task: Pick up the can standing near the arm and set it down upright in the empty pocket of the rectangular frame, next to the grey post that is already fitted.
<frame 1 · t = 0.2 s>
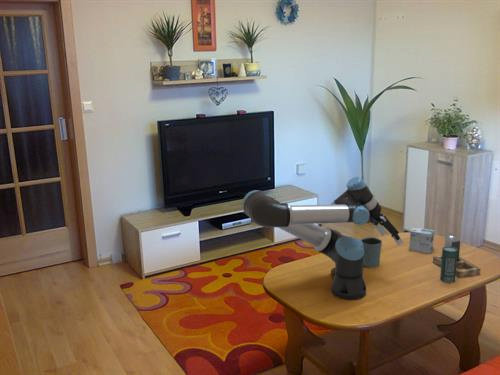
hand: (392, 238, 238), 16 cm above the table, tool tilted 35°, fingers open, 13 cm apart
grey post: (449, 264, 246), resting in rectangular frame
can: (447, 280, 231), on the table
grey cup: (370, 264, 250), on the table
rectangular frame: (455, 268, 242), on the table
light bulb box: (421, 250, 265), on the table
cup and saucer: (343, 275, 239), on the table
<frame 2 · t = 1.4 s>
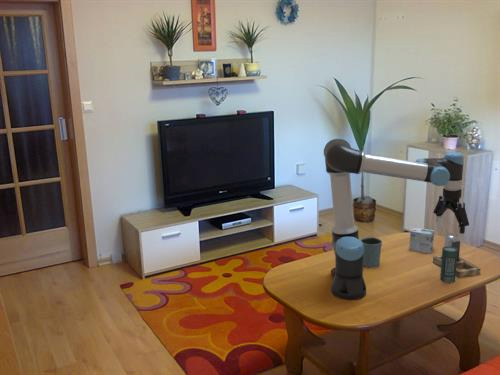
hand: (449, 234, 226), 21 cm above the table, tool pointing down, fingers open, 13 cm apart
nothing on the table moved.
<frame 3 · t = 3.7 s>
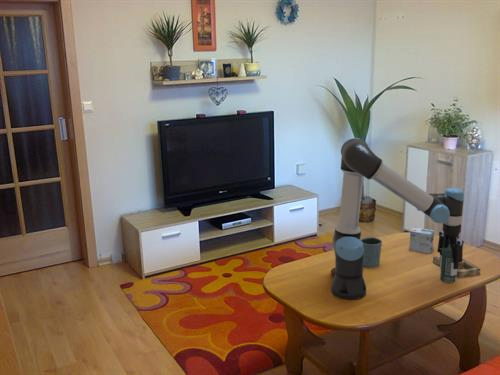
hand: (448, 271, 230), 4 cm above the table, tool pointing down, fingers closed on can, 6 cm apart
can: (447, 280, 231), on the table, touching gripper
everything else where it was.
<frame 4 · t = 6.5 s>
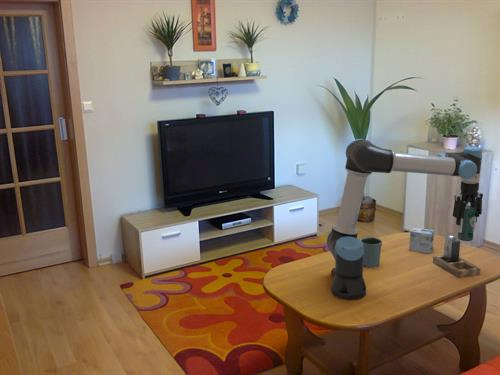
hand: (465, 230, 233), 21 cm above the table, tool pointing down, fingers closed on can, 6 cm apart
can: (465, 239, 234), point 16 cm above the table, touching gripper
everything else where it was.
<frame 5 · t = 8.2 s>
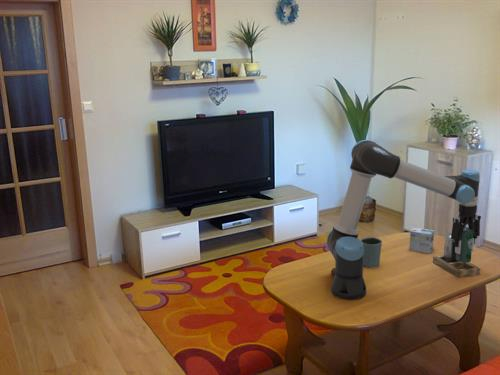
hand: (464, 251, 236), 10 cm above the table, tool pointing down, fingers closed on can, 6 cm apart
can: (463, 260, 237), point 6 cm above the table, touching gripper
everything else where it was.
when the fingers open (5 cm above the table, at t = 9.5 s): can drops 1 cm, resting in rectangular frame.
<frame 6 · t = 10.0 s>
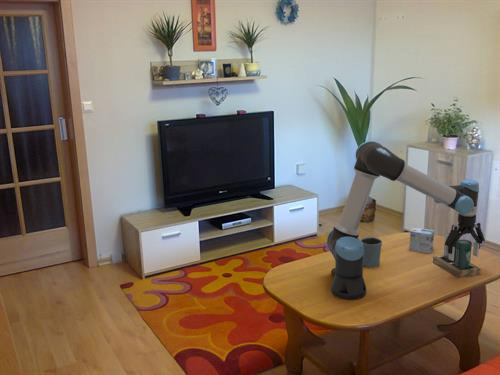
hand: (463, 257, 236), 7 cm above the table, tool pointing down, fingers open, 13 cm apart
can: (461, 272, 238), resting in rectangular frame
everything else where it was.
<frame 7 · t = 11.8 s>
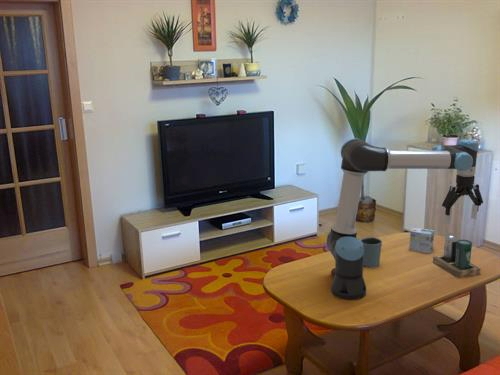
hand: (461, 220, 232), 25 cm above the table, tool pointing down, fingers open, 13 cm apart
nothing on the table moved.
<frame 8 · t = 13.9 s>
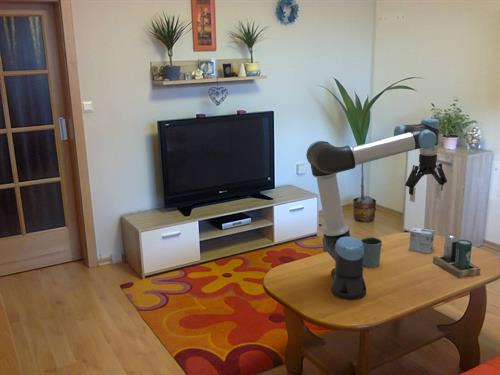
hand: (425, 199, 232), 35 cm above the table, tool pointing down, fingers open, 13 cm apart
nothing on the table moved.
at the end: can 0.2 cm from the target spot, resting in rectangular frame; can tilted 0°; the gripper is holding nothing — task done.
